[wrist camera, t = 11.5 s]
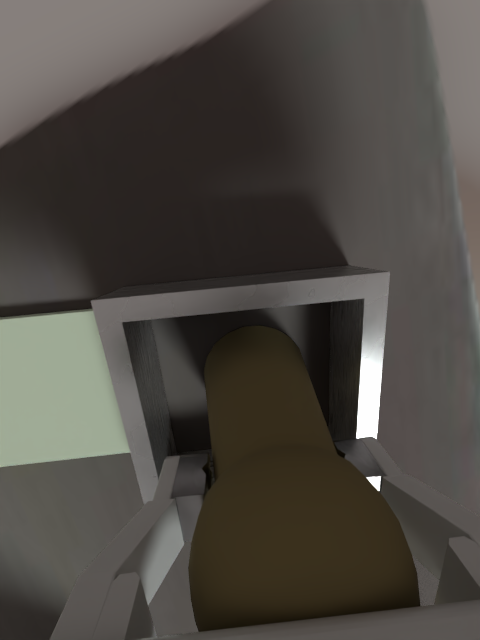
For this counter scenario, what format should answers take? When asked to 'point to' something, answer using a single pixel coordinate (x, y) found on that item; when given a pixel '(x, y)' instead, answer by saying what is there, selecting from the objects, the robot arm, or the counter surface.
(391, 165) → the counter surface
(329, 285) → the frame
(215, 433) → the olive green rounded piece
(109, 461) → the counter surface
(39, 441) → the green pad
